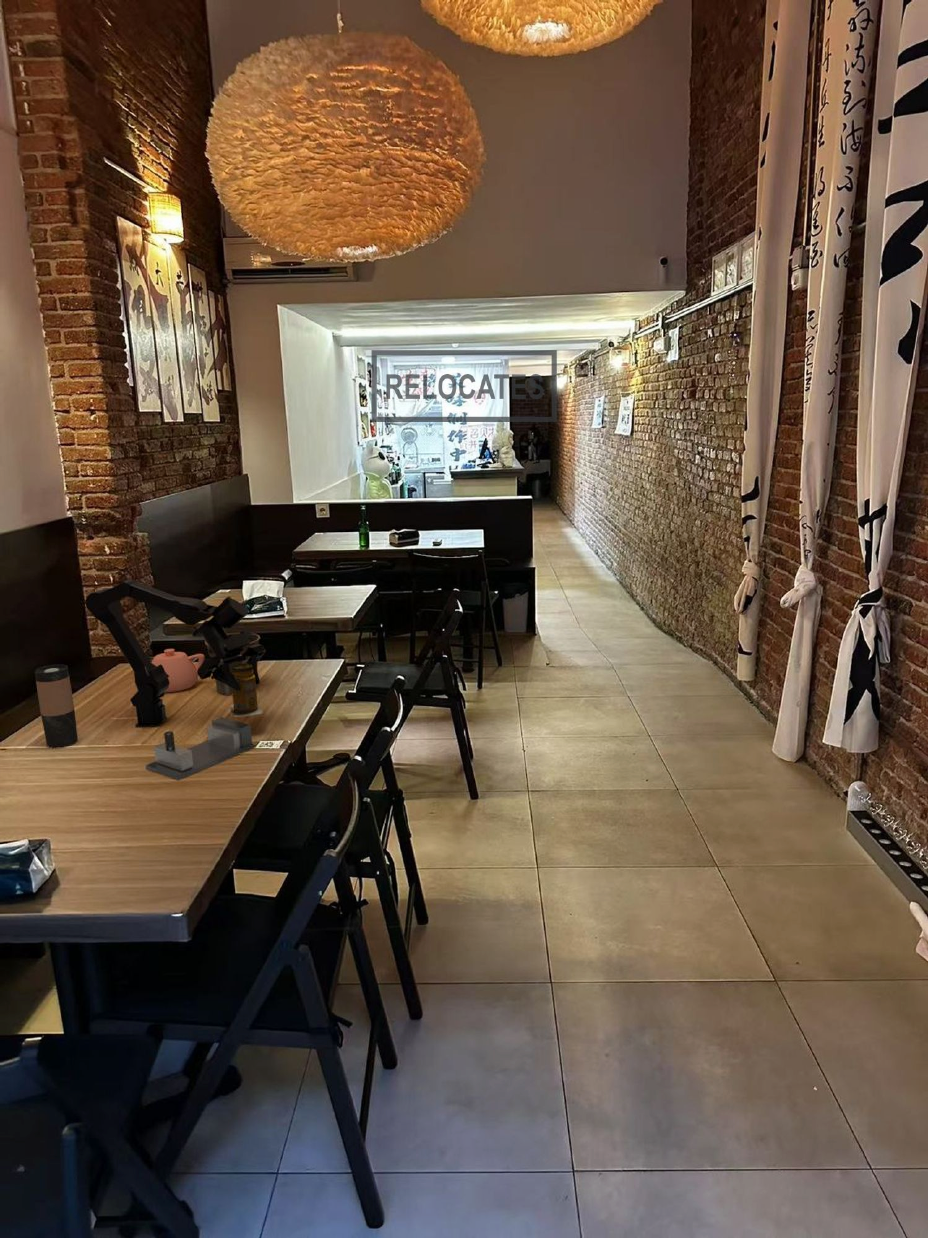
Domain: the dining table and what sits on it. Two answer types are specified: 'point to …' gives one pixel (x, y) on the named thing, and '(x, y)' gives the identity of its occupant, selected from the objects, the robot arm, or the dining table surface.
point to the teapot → (178, 668)
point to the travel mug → (56, 705)
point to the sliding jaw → (173, 754)
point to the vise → (212, 748)
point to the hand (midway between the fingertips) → (249, 686)
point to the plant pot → (221, 686)
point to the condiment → (244, 691)
